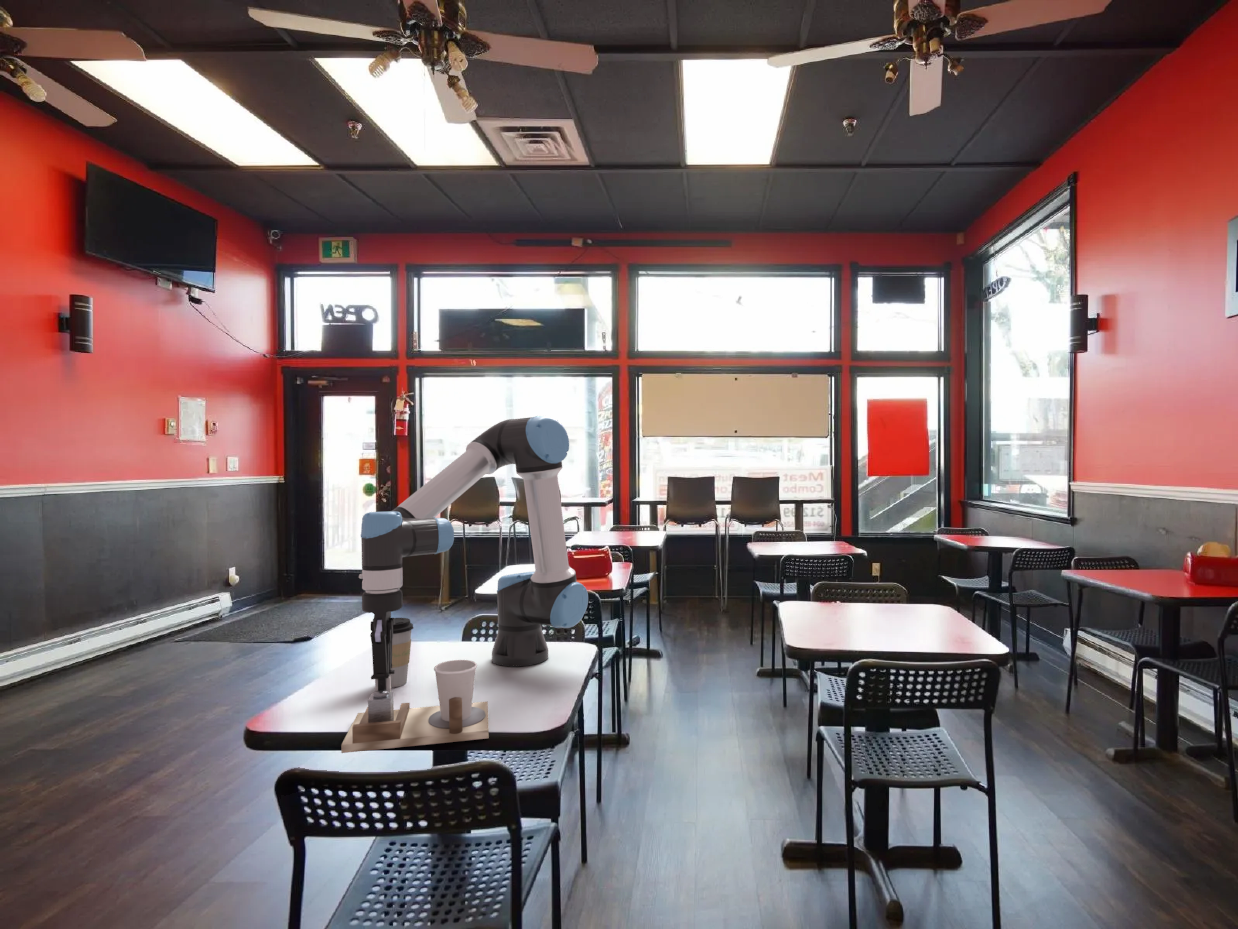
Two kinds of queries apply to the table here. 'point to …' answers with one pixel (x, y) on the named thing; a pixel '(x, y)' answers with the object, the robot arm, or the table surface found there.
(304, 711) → the table surface
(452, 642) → the table surface
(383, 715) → the grey square bottle
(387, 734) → the board
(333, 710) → the table surface
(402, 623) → the coffee cup
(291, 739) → the table surface
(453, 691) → the dixie cup
